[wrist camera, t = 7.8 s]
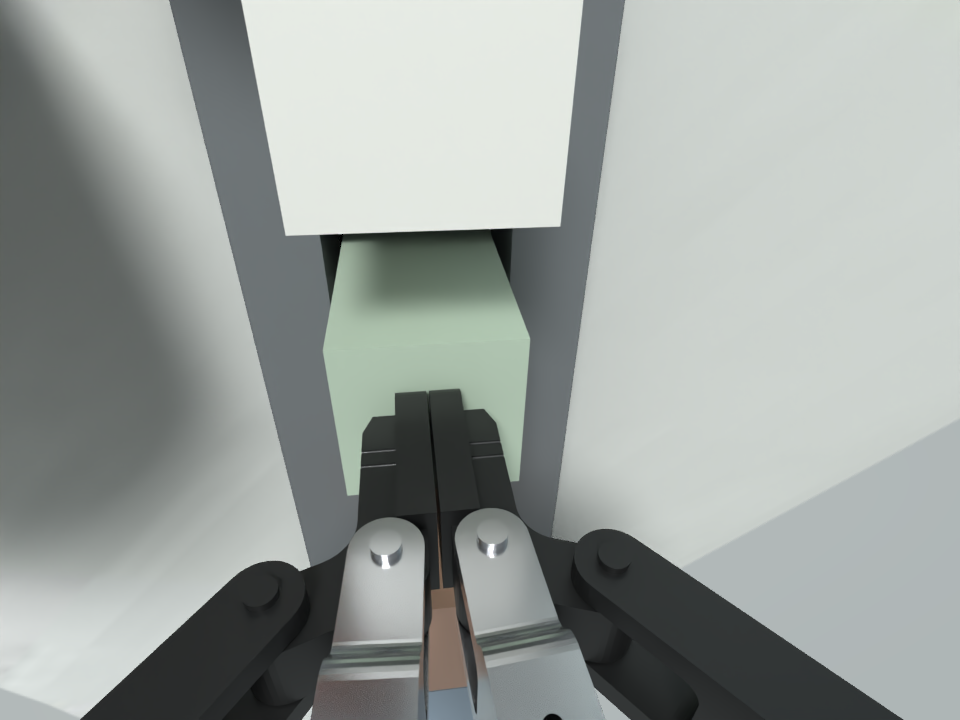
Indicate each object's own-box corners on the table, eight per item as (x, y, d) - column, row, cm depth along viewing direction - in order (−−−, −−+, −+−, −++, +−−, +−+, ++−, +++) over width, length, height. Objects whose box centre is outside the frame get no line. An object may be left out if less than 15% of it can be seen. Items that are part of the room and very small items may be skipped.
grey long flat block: (591, -143, 15) (648, -174, 12) (523, 563, 32) (538, 630, 29) (183, -162, 14) (118, -201, 10) (338, 582, 31) (332, 654, 27)
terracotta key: (486, 428, 21) (522, 599, 15) (484, 508, 24) (514, 680, 18) (367, 437, 21) (357, 617, 15) (377, 517, 23) (372, 698, 17)
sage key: (485, 221, 18) (530, 338, 12) (483, 338, 20) (519, 480, 15) (344, 225, 17) (322, 350, 12) (359, 344, 20) (347, 495, 14)
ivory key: (502, -81, 13) (595, -122, 7) (495, 128, 15) (560, 226, 9) (298, -88, 12) (215, -137, 6) (326, 130, 15) (285, 235, 9)
